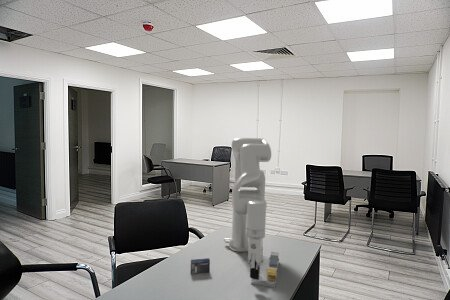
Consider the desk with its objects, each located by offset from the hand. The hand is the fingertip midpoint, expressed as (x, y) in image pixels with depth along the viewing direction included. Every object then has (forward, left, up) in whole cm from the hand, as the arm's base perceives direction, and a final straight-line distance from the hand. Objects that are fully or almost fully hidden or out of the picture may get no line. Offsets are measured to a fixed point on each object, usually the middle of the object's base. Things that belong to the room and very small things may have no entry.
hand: (254, 277), depth 119 cm
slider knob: (0, +6, -2) cm, 7 cm away
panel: (+3, +15, -5) cm, 16 cm away
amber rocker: (+6, +9, -1) cm, 11 cm away
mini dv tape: (-25, +6, -5) cm, 26 cm away
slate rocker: (+6, +22, -1) cm, 23 cm away
